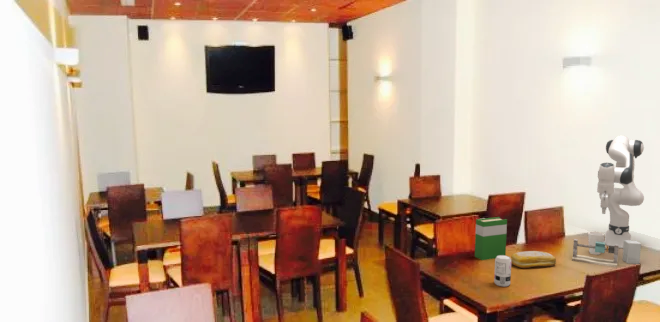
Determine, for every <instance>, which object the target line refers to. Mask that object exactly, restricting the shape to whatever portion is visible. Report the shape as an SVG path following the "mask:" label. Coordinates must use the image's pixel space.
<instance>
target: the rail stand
mask: <svg viewBox="0 0 660 322" xmlns="http://www.w3.org/2000/svg"><path fill="white" fill-rule="evenodd" d="M578 241H579V239H576V238H574V239H573V244H572V245H573V248H572V258H571V261H573V262H579V263H583V264H584V263H585V264H592V265H599V266H605V267H611V268H618V258H619V248H618V247H619V245H615V246H608V245H606V246H605V252H608V254H613V259H607V258H600V257H594V256H588V255H580V254H578V247H583V248H587V249H589V248H594V249H595V246H592V245H589V244H583V243H578Z"/></svg>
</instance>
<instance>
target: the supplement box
mask: <svg viewBox="0 0 660 322" xmlns="http://www.w3.org/2000/svg"><path fill="white" fill-rule="evenodd" d="M641 248H642V243H641V242H639V241H637V240H632V239H631V240H624V244H623V248H622V261H624V263H626V264H634V265H640V261H641V251H642V250H641Z"/></svg>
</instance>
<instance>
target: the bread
mask: <svg viewBox="0 0 660 322" xmlns="http://www.w3.org/2000/svg"><path fill="white" fill-rule="evenodd" d="M510 259H511V265H512V266H514V267H517V268H519V269H529V268H533V267H534V268H535V267H553V266H555V265H556V263H557V258H556V257H555V255H553V254H551V253H549V252H546V251H541V250H540V251H537V250H525V251H519V252H514V253H513V254H511V256H510Z"/></svg>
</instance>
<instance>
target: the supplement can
mask: <svg viewBox="0 0 660 322" xmlns="http://www.w3.org/2000/svg"><path fill="white" fill-rule="evenodd" d="M493 275H494V278H493V282H494V284H495V285H496V286H497V287H503V288H504V287H505V288H507V287H509V286H510V285H511V278H512V277H511V276H512V262H511V256H508V255H498V256H497V257H496V258H495V259H494V274H493Z"/></svg>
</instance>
